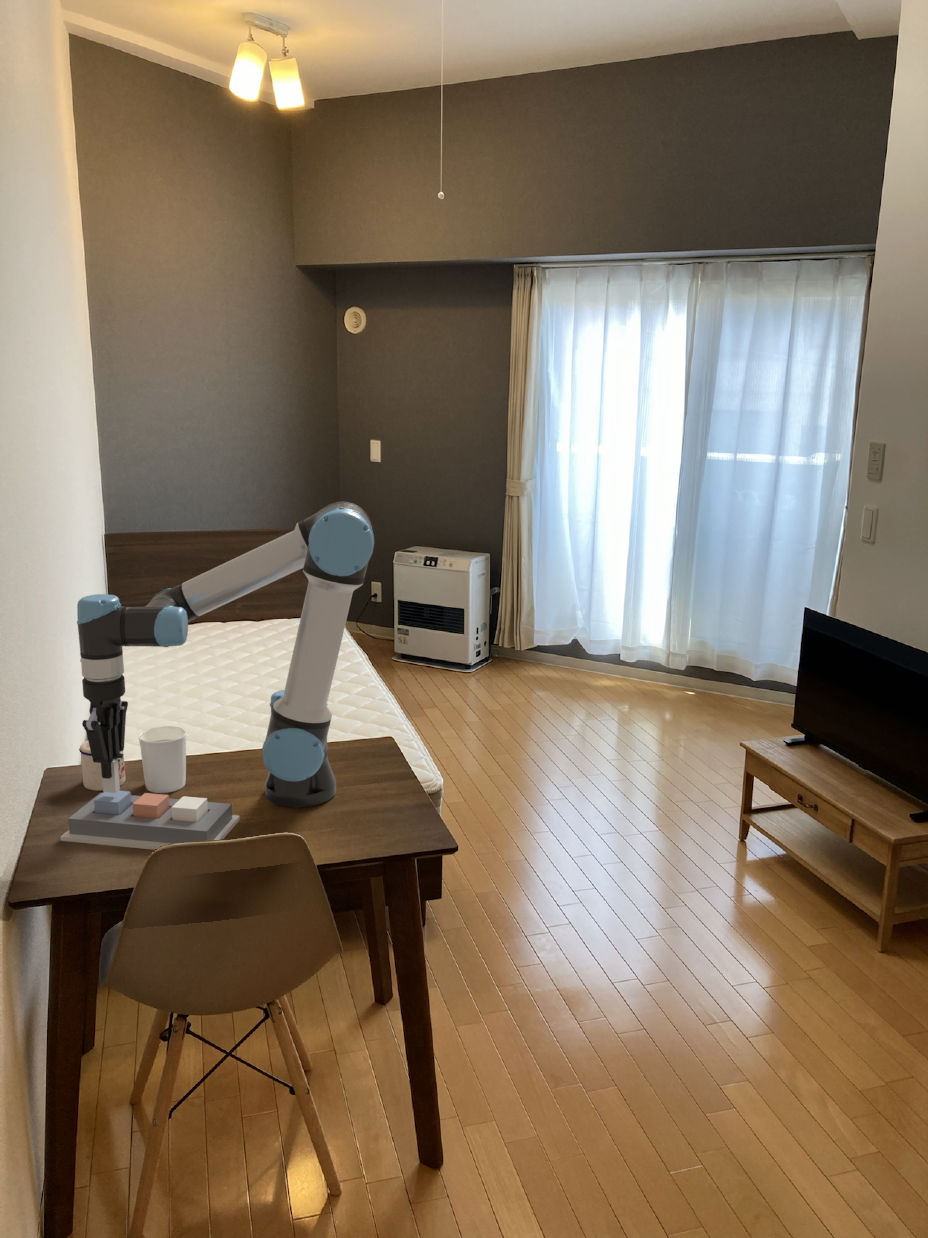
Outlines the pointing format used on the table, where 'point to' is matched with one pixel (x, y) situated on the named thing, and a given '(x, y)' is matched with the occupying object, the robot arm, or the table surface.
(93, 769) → the teacup with lid
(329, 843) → the table surface
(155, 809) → the terracotta key
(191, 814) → the white key
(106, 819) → the key console
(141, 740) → the candle holder
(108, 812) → the blue key
